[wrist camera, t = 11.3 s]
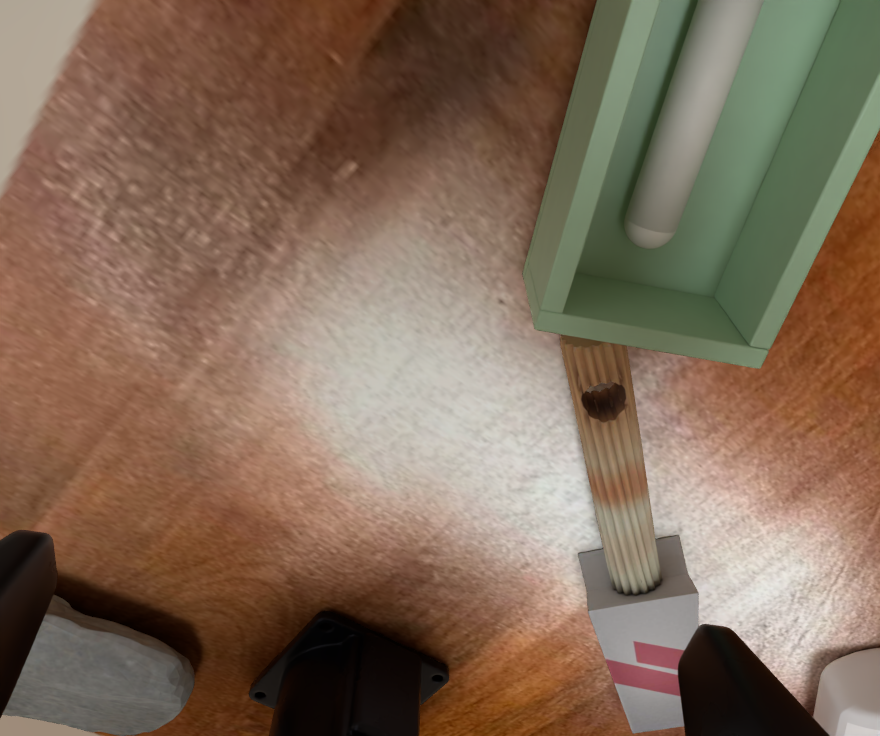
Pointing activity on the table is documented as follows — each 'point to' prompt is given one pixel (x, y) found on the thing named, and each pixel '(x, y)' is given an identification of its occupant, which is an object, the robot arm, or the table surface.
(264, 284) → the table surface
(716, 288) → the bin
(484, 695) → the table surface
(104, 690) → the stone
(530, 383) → the table surface
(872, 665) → the eye dropper bottle
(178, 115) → the table surface
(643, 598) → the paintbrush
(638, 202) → the rod with rounded ends
